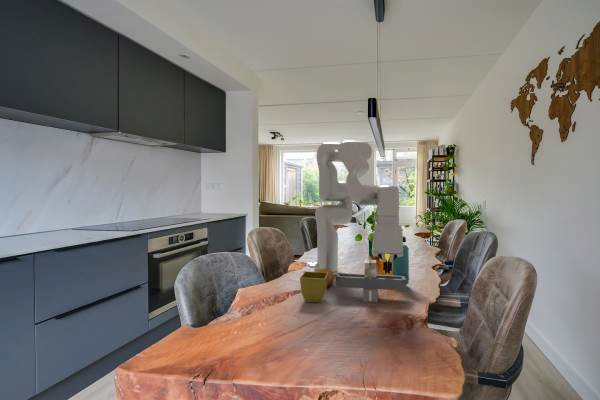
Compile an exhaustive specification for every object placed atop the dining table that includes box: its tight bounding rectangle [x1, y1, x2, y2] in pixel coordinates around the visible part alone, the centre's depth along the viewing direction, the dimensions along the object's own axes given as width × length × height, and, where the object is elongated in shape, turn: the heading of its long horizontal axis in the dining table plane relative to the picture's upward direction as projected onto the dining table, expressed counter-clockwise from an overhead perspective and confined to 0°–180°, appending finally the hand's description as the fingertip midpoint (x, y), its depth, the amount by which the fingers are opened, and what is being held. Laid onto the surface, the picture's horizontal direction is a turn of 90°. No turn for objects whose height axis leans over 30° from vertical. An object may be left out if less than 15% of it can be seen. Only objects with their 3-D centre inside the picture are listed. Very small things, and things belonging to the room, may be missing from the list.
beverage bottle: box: [391, 236, 410, 286], centre depth 137 cm, size 6×7×20 cm
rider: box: [363, 259, 377, 278], centre depth 123 cm, size 4×6×7 cm
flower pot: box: [299, 271, 328, 304], centre depth 120 cm, size 9×9×9 cm
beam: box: [335, 272, 407, 303], centre depth 123 cm, size 24×9×8 cm, turn 79°
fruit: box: [316, 269, 335, 288], centre depth 138 cm, size 8×8×8 cm
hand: (387, 272), depth 122 cm, fingers closed
